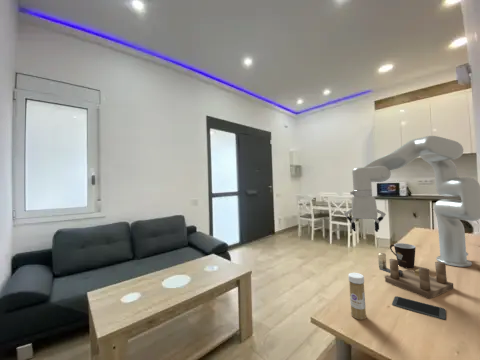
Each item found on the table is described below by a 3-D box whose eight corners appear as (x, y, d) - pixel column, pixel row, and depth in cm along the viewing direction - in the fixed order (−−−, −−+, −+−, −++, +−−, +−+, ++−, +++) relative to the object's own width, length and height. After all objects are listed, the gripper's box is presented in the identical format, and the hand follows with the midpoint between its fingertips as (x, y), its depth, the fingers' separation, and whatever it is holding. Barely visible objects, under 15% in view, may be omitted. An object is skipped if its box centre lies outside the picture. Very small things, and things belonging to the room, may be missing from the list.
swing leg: (377, 269, 101) (376, 253, 101) (381, 267, 102) (380, 252, 103) (400, 276, 92) (398, 259, 92) (404, 275, 93) (403, 258, 93)
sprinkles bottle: (349, 317, 71) (346, 275, 72) (352, 310, 75) (350, 271, 75) (365, 322, 69) (362, 279, 69) (368, 314, 72) (365, 274, 72)
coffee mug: (421, 269, 103) (419, 248, 103) (400, 269, 105) (399, 248, 105) (407, 260, 115) (406, 241, 115) (389, 260, 116) (388, 241, 116)
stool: (408, 273, 100) (407, 252, 100) (453, 288, 85) (451, 263, 85) (385, 281, 94) (383, 259, 94) (429, 299, 79) (427, 272, 79)
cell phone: (446, 321, 67) (445, 319, 67) (391, 306, 76) (391, 304, 76) (445, 310, 72) (445, 308, 72) (395, 297, 82) (394, 295, 82)
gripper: (342, 195, 102) (345, 232, 101) (386, 193, 95) (389, 233, 95) (341, 193, 109) (344, 228, 108) (382, 192, 102) (385, 229, 102)
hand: (365, 230), depth 102 cm, fingers open, 8 cm apart
